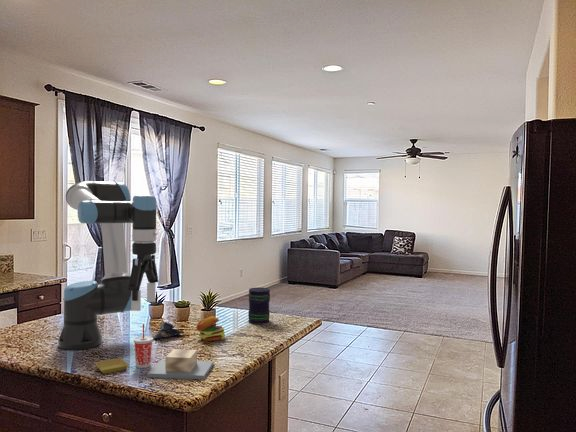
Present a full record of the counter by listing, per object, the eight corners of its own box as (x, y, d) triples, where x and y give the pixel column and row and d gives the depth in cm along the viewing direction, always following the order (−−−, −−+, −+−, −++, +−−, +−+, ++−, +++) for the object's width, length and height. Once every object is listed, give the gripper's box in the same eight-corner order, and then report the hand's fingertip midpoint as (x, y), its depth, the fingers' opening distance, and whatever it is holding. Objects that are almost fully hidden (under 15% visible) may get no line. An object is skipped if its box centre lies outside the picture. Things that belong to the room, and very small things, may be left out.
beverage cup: (134, 369, 152) (134, 326, 151) (132, 363, 157) (133, 322, 157) (153, 367, 154) (154, 325, 154) (151, 361, 160) (151, 320, 159)
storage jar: (245, 320, 218) (245, 288, 218) (264, 318, 222) (265, 286, 222) (252, 325, 209) (253, 292, 209) (272, 323, 213) (273, 290, 213)
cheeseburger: (221, 343, 182) (215, 317, 182) (195, 347, 184) (190, 322, 184) (229, 335, 191) (223, 311, 192) (205, 339, 194) (200, 316, 194)
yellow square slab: (129, 371, 151) (129, 364, 151) (101, 376, 146) (101, 370, 146) (121, 363, 158) (121, 357, 158) (94, 368, 153) (94, 362, 153)
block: (165, 371, 148) (165, 357, 147) (173, 362, 156) (173, 349, 155) (190, 372, 147) (190, 357, 147) (196, 363, 155) (197, 349, 155)
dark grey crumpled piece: (150, 334, 194) (152, 341, 183) (153, 318, 194) (155, 324, 183) (180, 336, 198) (183, 344, 187) (183, 321, 198) (186, 327, 187)
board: (146, 377, 145) (147, 373, 145) (160, 362, 158) (160, 359, 158) (204, 379, 144) (204, 375, 144) (213, 364, 157) (213, 361, 157)
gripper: (141, 245, 142) (140, 315, 142) (167, 239, 167) (167, 298, 167) (117, 245, 142) (116, 314, 143) (146, 239, 167) (146, 298, 168)
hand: (143, 306), depth 155 cm, fingers open, 13 cm apart
